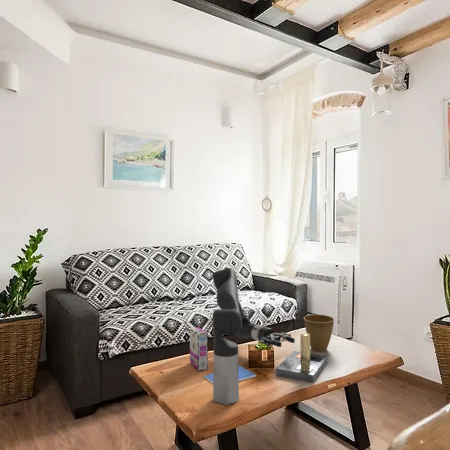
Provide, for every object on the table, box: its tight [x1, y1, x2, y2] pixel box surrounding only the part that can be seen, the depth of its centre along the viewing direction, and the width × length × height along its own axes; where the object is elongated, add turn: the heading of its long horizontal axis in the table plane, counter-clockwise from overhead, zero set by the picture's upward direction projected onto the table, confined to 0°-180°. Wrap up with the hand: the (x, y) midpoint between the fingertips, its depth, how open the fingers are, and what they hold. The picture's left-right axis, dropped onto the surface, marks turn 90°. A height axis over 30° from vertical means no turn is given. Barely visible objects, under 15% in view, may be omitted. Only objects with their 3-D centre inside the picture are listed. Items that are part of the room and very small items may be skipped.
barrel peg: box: [299, 333, 311, 369], centre depth 162 cm, size 4×4×14 cm
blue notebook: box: [203, 365, 257, 384], centre depth 162 cm, size 19×13×1 cm, turn 123°
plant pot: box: [303, 313, 335, 353], centre depth 194 cm, size 15×15×16 cm
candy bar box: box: [189, 326, 209, 371], centre depth 174 cm, size 11×5×16 cm, turn 25°
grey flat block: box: [275, 350, 328, 384], centre depth 169 cm, size 24×16×3 cm, turn 152°
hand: (287, 342), depth 171 cm, fingers open, 8 cm apart
